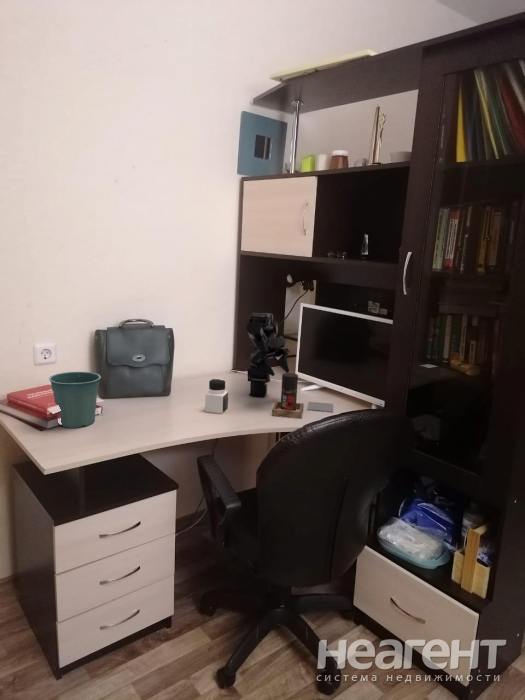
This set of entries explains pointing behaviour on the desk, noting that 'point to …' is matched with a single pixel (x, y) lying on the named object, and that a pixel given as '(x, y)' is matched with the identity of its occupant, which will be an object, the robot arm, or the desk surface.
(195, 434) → the desk surface
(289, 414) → the walnut collar
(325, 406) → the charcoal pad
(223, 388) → the medicine bottle
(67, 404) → the flower pot
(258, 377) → the robot arm
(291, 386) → the deodorant
